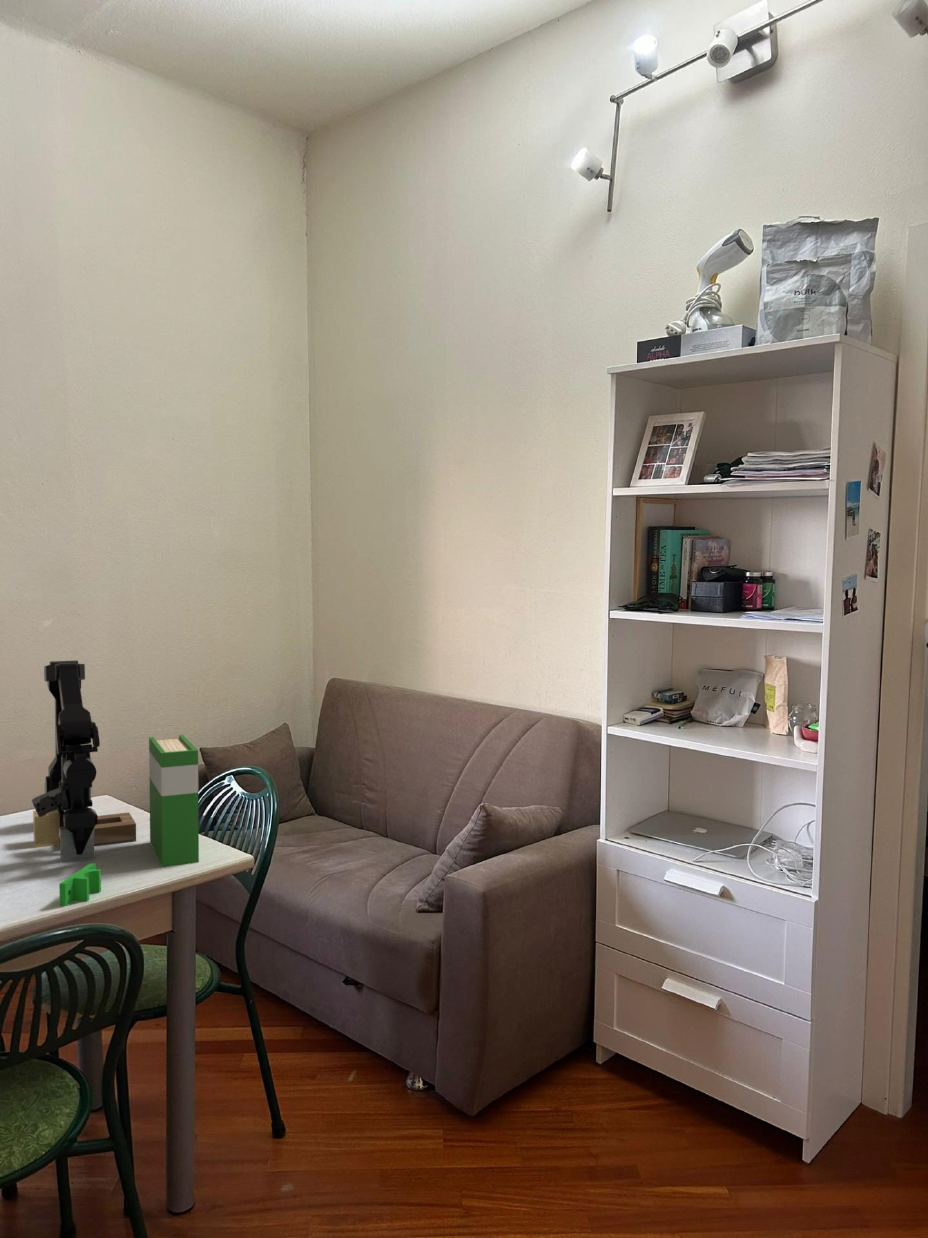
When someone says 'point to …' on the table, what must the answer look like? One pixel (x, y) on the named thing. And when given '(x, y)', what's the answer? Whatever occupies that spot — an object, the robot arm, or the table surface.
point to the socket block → (114, 829)
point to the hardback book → (174, 801)
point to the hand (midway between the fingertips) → (77, 849)
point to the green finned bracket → (80, 885)
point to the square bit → (46, 829)
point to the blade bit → (69, 848)
